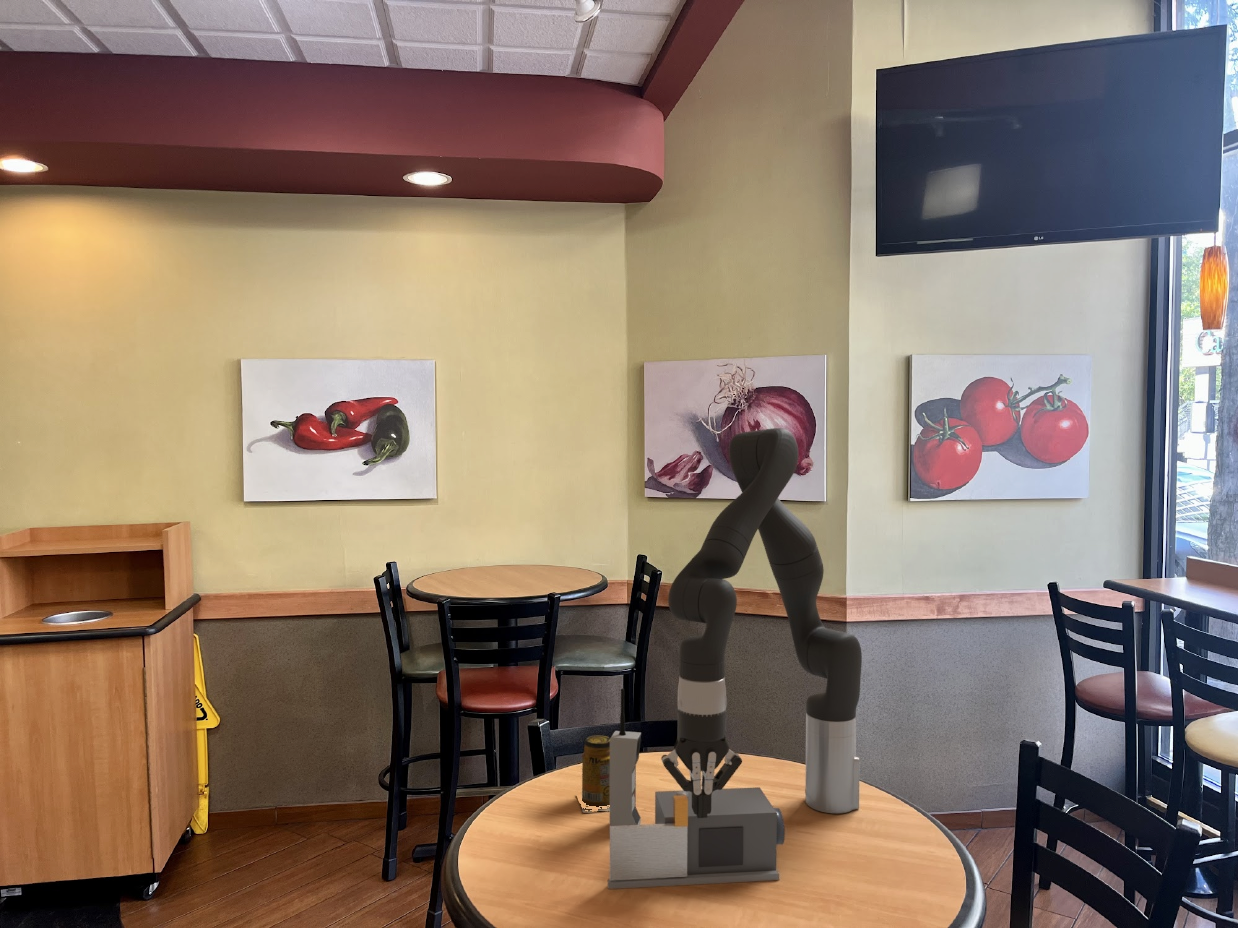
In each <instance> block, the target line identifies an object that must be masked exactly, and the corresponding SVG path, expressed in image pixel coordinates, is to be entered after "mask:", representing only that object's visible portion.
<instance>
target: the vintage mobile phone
mask: <svg viewBox="0 0 1238 928" xmlns="http://www.w3.org/2000/svg"><path fill="white" fill-rule="evenodd" d="M625 729H626V716H625V688H620V717H619V730H615V731H614V732H613V733H612V735H611V737H609V738H610V811H609V827H610V826H623V825H641V824H642V820H641V819H642V818H641V815H640V813H639V812H638V809H637V805H636V800H637V799H636V795H637V793H636V792H637V791H636V787H637V783H636V782H637V780H636V779H637V778H636V777H637V774H636V773H637V772H636V770H637V763H638V761H639V758H640V748H641V741H642V740H641V736H642V732H637V731H626V730H625Z"/></svg>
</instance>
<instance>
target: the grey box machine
mask: <svg viewBox="0 0 1238 928" xmlns="http://www.w3.org/2000/svg"><path fill="white" fill-rule="evenodd" d="M654 795H655V798H654V824H668V823H673V796H680V795H686V796H687V799H688V826H687V877H669V878H650V879H630V880H611V881H610V878H608V879H607V889H608V890H615V889H633V888H634V889H635V888H636V889H637V888H653V887H655V888H656V887H672V886H673V887H674V886H688V885H689V886H690V885H707V884H708V885H709V884H710V885H711V884H725V883H727V884H729V883H745V882H746V883H748V882H764V881H765V882H766V881H780V872H779V870H777V848H778V847H777V846H781V845H782V846H783V844H784V842H785V835H786V834H785V832H786V831H785V821H784V817H783V813H782V811H781V809H780V808H779V807H774V806H773V805H772V804H771V802H770V800H769V799H768V797H767V796H766V795H765V793H764V792H763V790H762V788H761V787H760V786H759V787H736V788H723V789H721V790H718V789H717V790H715V791H713V792H712V795H711V813H710V814H707V818H698V817H697V815H696V814H694V812H693V809H692V792H690V791H684V790H683V789H682V790H663V791H661V790H659V791H655V793H654Z"/></svg>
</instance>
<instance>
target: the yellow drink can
mask: <svg viewBox="0 0 1238 928" xmlns="http://www.w3.org/2000/svg"><path fill="white" fill-rule="evenodd" d="M610 738H611V737H609V736H606V735H601V734H599V735H590V736H588V737H586V738H585V739H584V748H583V749H584V751H583V753H582V755H581V756H582V759H581V762H582V764H581V765H582V766H581V767H582V768H581V769H582V771H581V772H582V773H581V774H582V775H581V777H582V778H581V780H582V781H581V783H582V784H581V787H582V788H581V794H582V801H583V802H584V803H586V805H589V806H596V807H599V806H607V805H610ZM580 805H581V804H579V806H580ZM608 807H609V806H608ZM608 807H607V809H602V807H600V808H601V809H598V811H607V812H610V807H609V808H608ZM581 810H582V813H588V814H589V813H591V814H592V813H598V812H597V811H595V812H592V811H590V810H592V809H586V808H585V809H584V808H583V809H581ZM585 810H588V811H589V812H587V811H585Z"/></svg>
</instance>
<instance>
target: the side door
mask: <svg viewBox="0 0 1238 928" xmlns="http://www.w3.org/2000/svg"><path fill="white" fill-rule="evenodd" d="M687 826H688V799H687V796H686V795H680V796H673V823H668V824H655V823H650V824H649V823H648V824H647V823H646V824H640V825H623V826H610V825H609V879H610V881H611V880H630V879H650V878H669V877H687Z"/></svg>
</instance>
